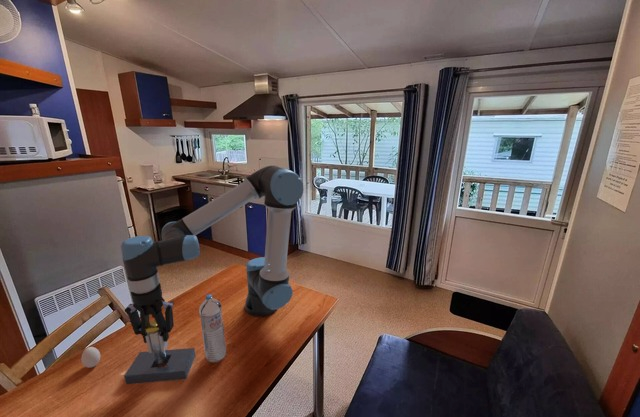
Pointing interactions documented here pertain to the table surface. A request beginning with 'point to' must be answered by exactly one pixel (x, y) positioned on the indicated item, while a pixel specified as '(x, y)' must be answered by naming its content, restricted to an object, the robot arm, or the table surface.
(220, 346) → the water bottle
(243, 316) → the table surface
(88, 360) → the egg
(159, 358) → the pin
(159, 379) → the grey block with hole
